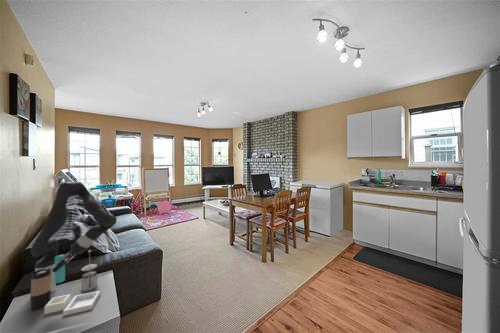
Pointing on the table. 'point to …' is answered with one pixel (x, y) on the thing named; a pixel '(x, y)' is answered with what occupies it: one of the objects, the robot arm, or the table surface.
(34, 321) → the table surface
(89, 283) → the french press
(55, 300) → the square box
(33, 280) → the travel mug
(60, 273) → the dowel
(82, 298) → the tray
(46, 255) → the robot arm
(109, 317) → the table surface
